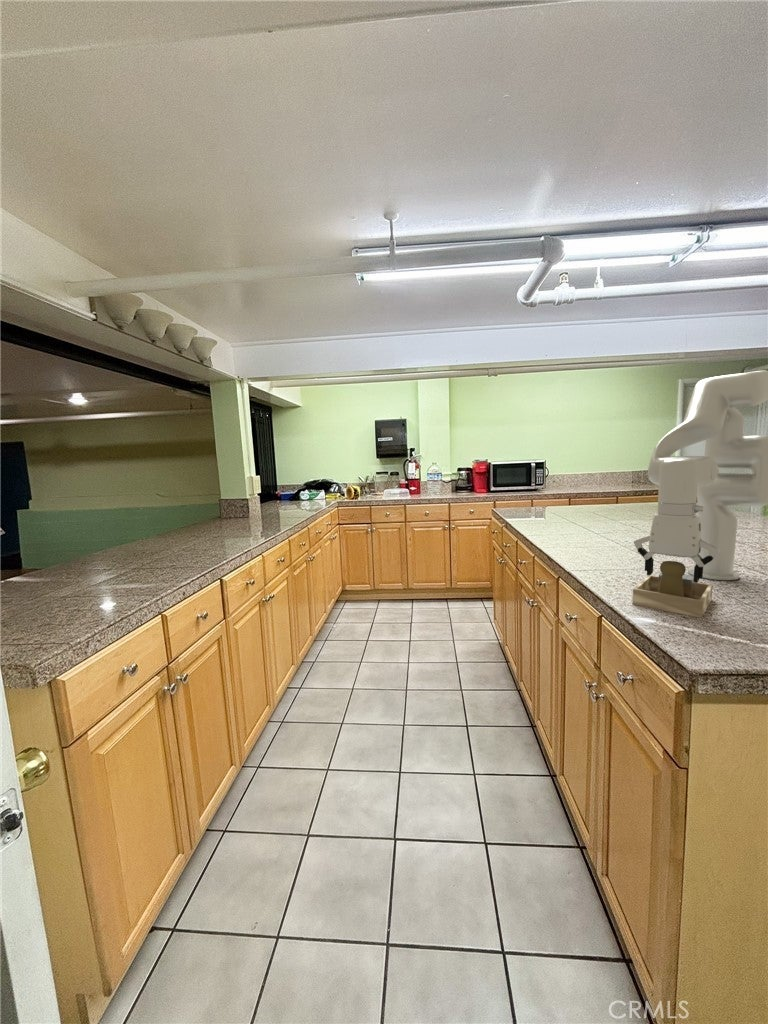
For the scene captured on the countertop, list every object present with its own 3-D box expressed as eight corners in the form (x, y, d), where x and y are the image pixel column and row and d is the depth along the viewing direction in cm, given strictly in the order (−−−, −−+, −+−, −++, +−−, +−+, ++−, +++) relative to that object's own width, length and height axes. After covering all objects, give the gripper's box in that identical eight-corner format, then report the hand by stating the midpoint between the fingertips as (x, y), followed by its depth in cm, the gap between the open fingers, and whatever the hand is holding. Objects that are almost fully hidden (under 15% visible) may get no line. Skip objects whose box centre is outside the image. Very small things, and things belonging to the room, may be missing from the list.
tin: (661, 592, 112) (663, 570, 111) (693, 598, 107) (695, 575, 106) (657, 597, 108) (658, 575, 107) (690, 603, 103) (692, 580, 102)
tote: (648, 590, 115) (649, 575, 114) (711, 601, 105) (712, 584, 105) (632, 606, 104) (633, 588, 103) (701, 620, 94) (702, 601, 93)
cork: (690, 609, 99) (693, 565, 97) (662, 608, 100) (665, 564, 99) (677, 600, 105) (680, 559, 103) (651, 599, 106) (654, 558, 105)
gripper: (724, 509, 96) (718, 580, 98) (639, 505, 108) (636, 568, 111) (719, 514, 91) (714, 588, 93) (631, 509, 103) (628, 575, 105)
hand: (672, 577), depth 102 cm, fingers open, 9 cm apart
